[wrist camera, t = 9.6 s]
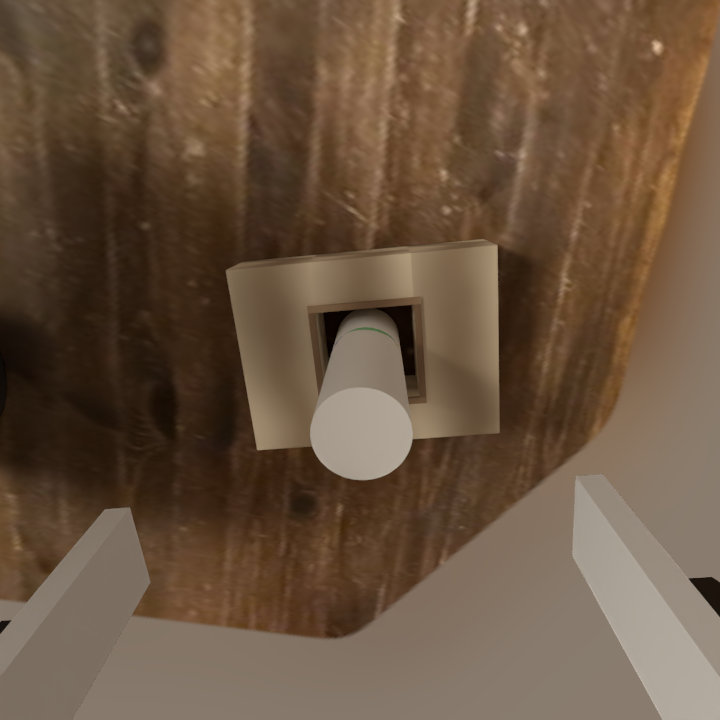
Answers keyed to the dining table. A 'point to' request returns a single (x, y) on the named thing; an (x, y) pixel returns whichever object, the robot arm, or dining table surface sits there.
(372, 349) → the tube
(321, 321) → the socket board
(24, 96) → the dining table surface
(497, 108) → the dining table surface
